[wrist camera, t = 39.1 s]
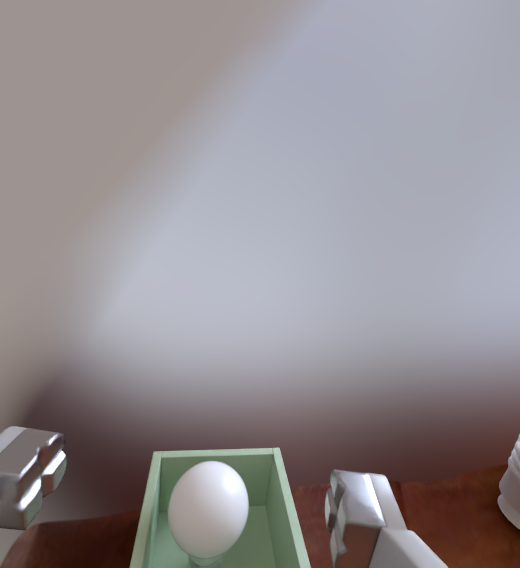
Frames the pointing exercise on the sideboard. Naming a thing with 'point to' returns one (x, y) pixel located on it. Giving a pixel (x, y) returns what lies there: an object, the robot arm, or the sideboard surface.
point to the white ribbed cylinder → (511, 488)
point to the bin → (260, 523)
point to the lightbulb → (208, 512)
